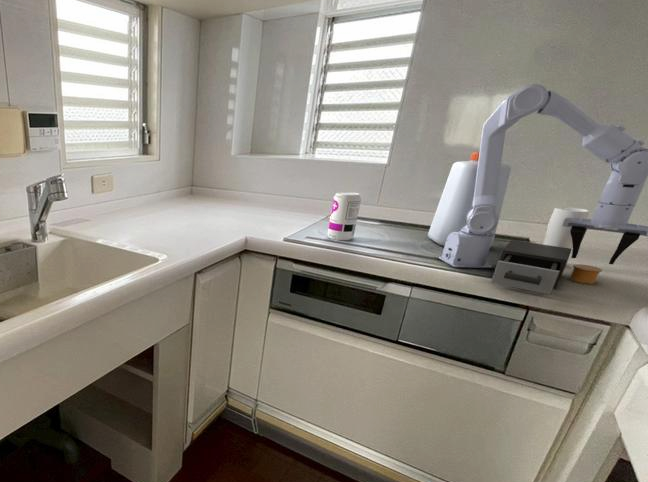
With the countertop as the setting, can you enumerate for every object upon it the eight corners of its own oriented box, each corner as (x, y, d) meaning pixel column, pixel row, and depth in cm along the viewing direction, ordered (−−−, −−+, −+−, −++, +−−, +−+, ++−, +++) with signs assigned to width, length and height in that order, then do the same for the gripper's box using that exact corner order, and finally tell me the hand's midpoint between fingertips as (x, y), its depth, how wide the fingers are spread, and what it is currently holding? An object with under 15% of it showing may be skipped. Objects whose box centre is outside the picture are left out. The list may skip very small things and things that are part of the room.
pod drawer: (548, 300, 86) (557, 276, 84) (487, 287, 93) (494, 265, 91) (555, 281, 96) (563, 259, 94) (500, 270, 103) (507, 250, 101)
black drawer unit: (555, 289, 94) (567, 260, 91) (493, 276, 102) (502, 249, 99) (560, 275, 103) (571, 248, 100) (502, 265, 110) (511, 239, 108)
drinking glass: (533, 258, 116) (553, 205, 110) (565, 262, 112) (588, 208, 106) (534, 263, 111) (555, 209, 105) (568, 268, 107) (592, 212, 101)
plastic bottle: (473, 238, 136) (500, 151, 126) (496, 250, 123) (529, 154, 112) (423, 236, 140) (445, 151, 129) (440, 247, 126) (467, 153, 116)
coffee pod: (579, 283, 97) (585, 270, 96) (562, 276, 102) (567, 263, 100) (602, 284, 97) (608, 271, 95) (584, 277, 101) (589, 264, 100)
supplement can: (327, 239, 136) (335, 194, 130) (326, 234, 143) (334, 191, 137) (354, 241, 133) (363, 195, 128) (351, 236, 140) (360, 192, 135)
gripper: (569, 201, 95) (548, 256, 100) (665, 210, 84) (636, 271, 89) (574, 198, 99) (553, 251, 104) (666, 206, 88) (638, 264, 94)
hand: (592, 260), depth 97 cm, fingers open, 6 cm apart
